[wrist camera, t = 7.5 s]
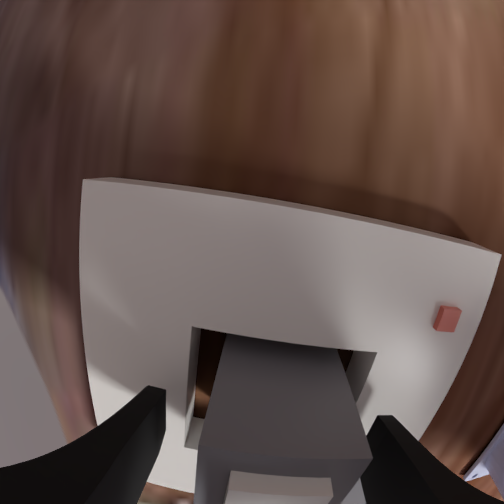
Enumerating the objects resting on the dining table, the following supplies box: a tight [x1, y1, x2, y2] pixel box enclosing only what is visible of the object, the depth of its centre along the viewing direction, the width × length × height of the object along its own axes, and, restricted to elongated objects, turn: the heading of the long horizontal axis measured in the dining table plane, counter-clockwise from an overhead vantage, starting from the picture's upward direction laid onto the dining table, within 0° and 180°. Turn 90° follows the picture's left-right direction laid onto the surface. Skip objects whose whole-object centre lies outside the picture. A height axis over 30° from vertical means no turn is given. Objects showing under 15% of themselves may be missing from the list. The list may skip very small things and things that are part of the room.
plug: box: [194, 333, 373, 504], centre depth 9 cm, size 4×4×7 cm
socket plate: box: [79, 177, 501, 504], centre depth 11 cm, size 14×14×3 cm
